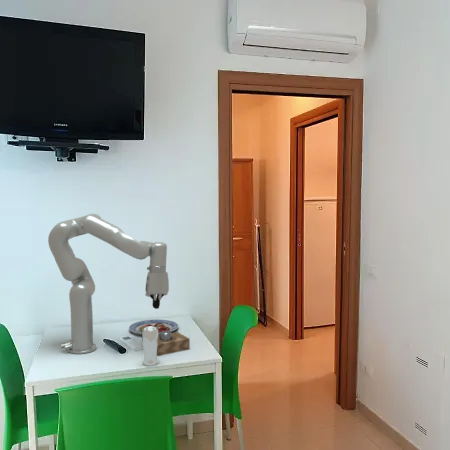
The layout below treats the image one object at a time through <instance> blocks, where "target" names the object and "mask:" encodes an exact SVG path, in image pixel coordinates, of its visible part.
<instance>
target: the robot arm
mask: <svg viewBox="0 0 450 450" xmlns="http://www.w3.org/2000/svg"><path fill="white" fill-rule="evenodd" d="M87 234H88V235H91V236H93V237H95V238H97V239H99V240H101V241H103V242H104V243H107V244H109V246H110V245H111V246H112V247H114V248H115V249H117V250H118V251H121V252H122V253H123V254H126V255H128V256H129V257H130V256H131V257H132V258H134V259H136V260H139V261H140V260H145V259H147V258H148V257H149V265H148V266H147V267H146V270H147V271H148V272H147V275H146V281H145V294H144V295H145V296H146V297H149V298H150V299H152V307H153V309H155V310H157V309H158V310H159V309H160V306H161V305H160V304H161V300H162V299H163V297H165V296H167V295H168V293H169V290H170V288H169V287H170V286H169V284H170V283H169V282H170V281H169V273H168V272H167V257H168V256H167V254H168V252H167V251H168V246H167V243H164V242H157V241H156V242H152V241H145V240H141V241H139V240H137V239H135V238H133V237H131V236H130V235H128V234H126V233H125V232H124V231H123V229H121V228H120V227H119V226H116V225H115V224H112V223H110V222H109V221H107V220H104V219H103V218H102V217H101V216H100V215H98V214H96V213H90V214H89V213H88V214H86V215H84V216H83V215H82V216H78V217H75V218H72V219H68V220H63V221H60V222H58V223H56V224H55V225H54V226H53V227H52V229H51V230H50V232H49V234H48V238H47V239H48V241H47V242H48V247H49V249H50V252H51V254H52V256H53V258H54V260H55V263H56V265H57V267H58V269H59V271H60V273H61V276H62V278H63V279H64V280H66V281H67V282H71V284H72V286H71V288H70V290H69V292H68V293H69V294H68V297H69V308H70V335H71V336H70V339H69V341H68V342H64V343H60V349H65V350H66V349H67V352H68V353H71V354H75V355H80V354H83V355H84V354H88V353H93V352H94V351H95V350H97V347H98V346H97V344H95V343H94V323H93V322H94V319H93V317H94V315H93V302H92V300H93V299H92V297H93V295H94V293H95V292H96V291H95V290H96V284H95V282H94V279H93V277H92V275H91V273H90V271H89V268H88V267H87V264H86V262H84V259H83V260H82V259H81V258H79V257H76V255H75V252H74V250H73V247H71V245H70V243H69V240H70V239H72V238H76V237H79V236H83V235H87Z"/></svg>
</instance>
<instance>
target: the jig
mask: <svg viewBox="0 0 450 450" xmlns="http://www.w3.org/2000/svg"><path fill="white" fill-rule="evenodd" d="M158 336H159V341H158V348H157V357H159V356H163V355H169V354H172V353H173V354H174V353H178V352H183V351H188V350H190V345H191V343H190V341H191V340H190V337H187V336H186V335H184V334H183V333H180V332H179V331H176V332H174V331H173V332H171V340H168V341H163V340H161V334H159V335H158Z"/></svg>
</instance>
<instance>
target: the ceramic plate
mask: <svg viewBox="0 0 450 450" xmlns="http://www.w3.org/2000/svg"><path fill="white" fill-rule="evenodd" d="M149 326H153V327H157V328H158V335H161V332H162V331H170V332H171V333H173V332H174V331H176V330H177V329H178V328H179V323H177V322H175V321H173V320H169V319H168V320H167V319H159V318H157V319H144V320H140V321H136V322H134V323H132V324H130V325H129V327H128V330H129V331H130V332H133V333H135V334H138V335H142V329H143V328H144V327H149Z"/></svg>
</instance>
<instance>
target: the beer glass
mask: <svg viewBox="0 0 450 450" xmlns="http://www.w3.org/2000/svg"><path fill="white" fill-rule="evenodd" d="M158 341H159V336H158V328H157V327H153V326H149V327H144V328H143V329H142V334H141V343H142V350H143V361H142V363H143V365H144V366H147V367H148V366H149V367H151V366H156V365H157V364H159V363H158V356H157V348H158Z"/></svg>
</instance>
